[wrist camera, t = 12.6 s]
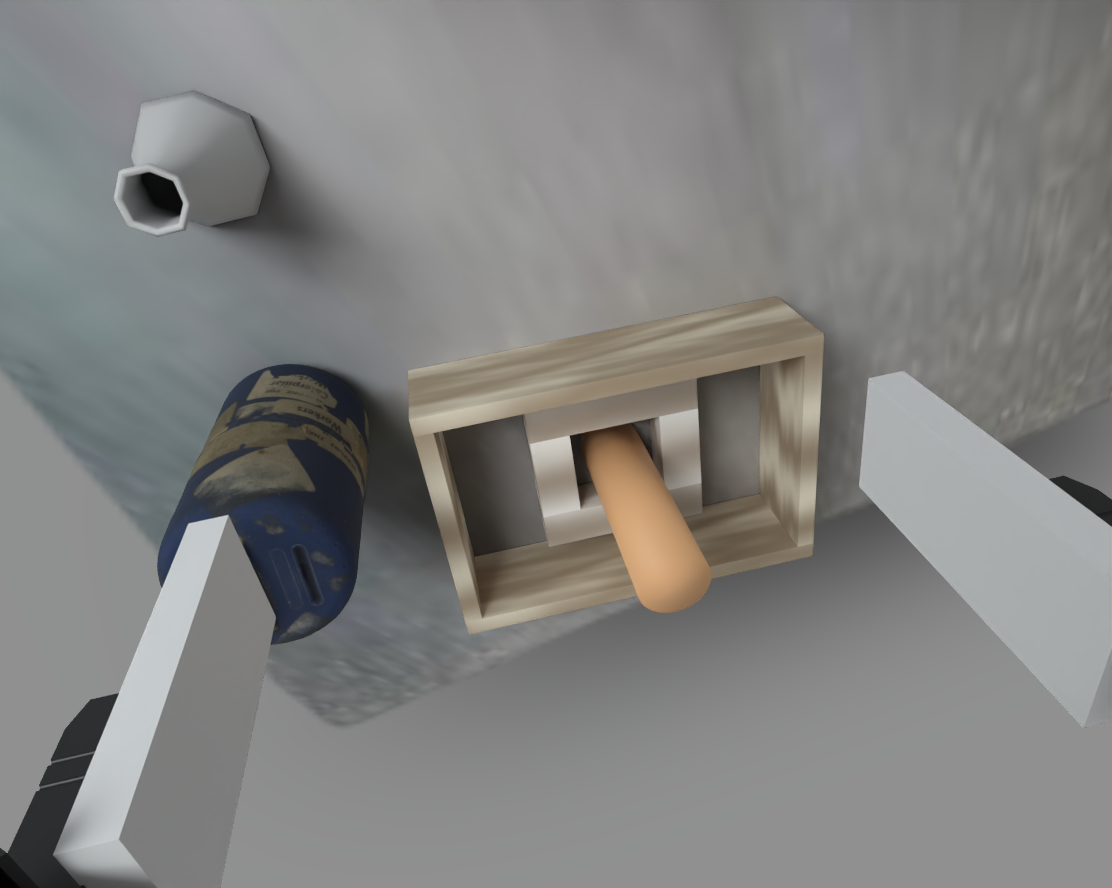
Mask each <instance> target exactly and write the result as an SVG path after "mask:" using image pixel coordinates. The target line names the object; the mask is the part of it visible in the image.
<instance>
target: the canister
mask: <svg viewBox="0 0 1112 888" xmlns="http://www.w3.org/2000/svg"><path fill="white" fill-rule="evenodd" d="M368 452H369V423H368V418H367V415H366V412H365V409H364V407H363V406H362V404H361V402H360V400H359V399H358V397H357V396H356V395H355V393H354V392H353V391H352V390H351V389H350V388H349V387H348V386H347V385H346V384H345V383H343V382H342V381H341V380H339V379H338V378H336V377H334V376H333V375H331V374H329V373H327V372H325V371H323V370H320V369H317V368H314V367H309V366H304V365H295V364H284V365H277V366H271V367H267V368H264V369H261V370H259V371H257V372H255V373H253V374H251V375H249V376H247V377H246V378H245V379H243V380H242V381H241V382H240V383H238V384H237V385H236V386H235V388H234V389H233V390H232V391H231V392H230V394H229V395H228V397H227V398H226V400H225V402H224V404H223V406H222V409H221V411H220V413H219V416H218V418H217V420H216V422H215V424H214V426H213V428H212V430H211V433H210V435H209V437H208V440H207V442H206V444H205V446H204V449H203V451H202V453H201V454H200V456H199V458H198V460H197V462H196V464H195V466H194V469H193V471H192V474H191V476H190V478H189V481H188V482H187V485H186V487H185V490H184V492H183V495H182V497H181V499H180V502H179V504H178V506H177V508H176V511H175V513H174V515H173V517H172V519H171V520H170V523H169V525H168V528H167V530H166V533H165V535H164V538H163V540H162V543H161V546H160V550H159V554H158V564H157V567H158V576H159V581H160V585H161V587H163V585H164V582H165V580H166V577H167V575H168V572H169V570H170V568H171V565H172V563H173V560H174V558H175V555H176V553H177V550H178V548H179V546H180V543H181V541H182V538H183V536H184V533H185V531H186V528H187V526H188V524H189V523H193V522H198V521H203V520H207V519H212V518H217V517H221V516H226V515H229V517H230V519H231V522H232V524H233V526H234V528H235V530H236V532H237V534H238V537H239V539H240V541H241V543H242V545H243V547H244V549H245V552H246V554H247V556H248V558H249V560H250V562H251V564H252V567H253V569H254V571H255V573H256V575H257V577H258V579H259V582H260V584H261V586H262V588H263V590H264V592H265V594H266V597H267V599H268V601H269V603H270V605H271V607H272V609H273V612H274V614H275V616H276V620H275V625H274V630H273V635H272V639H271V644H280V643H287V642H291V641H294V640H298V639H302V638H304V637H307V636H309V635H311V634H313V633H315V632H316V631H318V630H320V629H321V628H323V627H325V626H326V625H327V624H329V623H330V622H331V621H333V620H334V619H335V618H336V617H337V616H338V615H339V614H340V613H341V611H342V610H343V608H344V607H345V605H346V604H347V602H348V601H349V599H350V597H351V595H352V592H353V589H354V586H355V582H356V578H357V570H358V559H359V548H360V538H361V526H362V514H363V505H364V500H365V492H366V483H367V470H368ZM271 644H270V645H271Z"/></svg>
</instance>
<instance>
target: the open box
mask: <svg viewBox="0 0 1112 888" xmlns="http://www.w3.org/2000/svg"><path fill="white" fill-rule="evenodd" d="M823 348H824V334H823V333H822V332H821V331H819V330H818V329H817V328H816V327H814V326H813V325H812V324H811V323H809V322H808V321H807V320H806V319H804V318H803V317H802V316H801V315H799V314H798V313H797V312H796V311H794V310H793V309H792V308H791V307H789V306H788V305H787V304H786V303H784V302H783V301H782V300H781V299H779V298H778V297H772V298H767V299H762V300H757V301H752V302H747V303H742V304H737V305H732V306H727V307H722V308H717V309H712V310H707V311H702V312H697V313H692V314H687V315H682V316H677V317H672V318H667V319H662V320H657V321H652V322H648V323H643V324H638V325H633V326H628V327H623V328H618V329H613V330H608V331H603V332H598V333H593V334H588V335H583V336H578V337H573V338H568V339H563V340H558V341H553V342H548V343H543V344H538V345H533V346H528V347H523V348H518V349H513V350H508V351H504V352H499V353H494V354H489V355H484V356H479V357H474V358H469V359H464V360H459V361H454V362H449V363H444V364H439V365H434V366H429V367H424V368H419V369H414V370H409V371H408V386H409V422H410V426H411V429H412V433H413V436H414V440H415V444H416V447H417V451H418V454H419V458H420V461H421V465H422V469H423V472H424V476H425V479H426V483H427V486H428V490H429V494H430V497H431V501H432V504H433V508H434V511H435V515H436V518H437V522H438V526H439V529H440V533H441V536H442V540H443V543H444V547H445V551H446V554H447V558H448V561H449V565H450V568H451V572H452V576H453V579H454V583H455V586H456V590H457V593H458V597H459V601H460V604H461V608H462V611H463V615H464V618H465V622H466V626H467V629H468V633H469V634H473V633H478V632H482V631H486V630H491V629H495V628H499V627H504V626H508V625H513V624H517V623H521V622H526V621H530V620H534V619H539V618H543V617H548V616H552V615H556V614H561V613H565V612H569V611H574V610H578V609H582V608H587V607H591V606H596V605H600V604H604V603H609V602H613V601H617V600H622V599H626V598H630V597H635V596H637V593H636V590H635V588H634V585H633V583H632V580H631V578H630V575H629V573H628V570H627V567H626V565H625V562H624V560H623V557H622V555H621V552H620V549H619V547H618V544H617V542H616V539H615V537H614V534H613V532H612V529H611V526H610V524H609V521H608V519H607V516H606V514H605V511H604V508H603V506H602V503H601V501H600V498H599V496H598V493H597V491H596V488H595V485H594V483H589V484H584V485H580V486H577V481H576V474H575V468H574V461H573V455H572V448H571V441H570V435H575V434H579V433H584V432H589V431H594V430H598V429H603V428H608V427H612V426H617V425H622V424H627V423H631V422H636V421H641V420H646V419H649V421H650V433H651V445H652V456H653V463H654V464H655V466H656V468H657V470H658V472H659V474H660V476H661V478H662V479H663V481H664V483H665V485H666V487H667V489H668V491H669V492H670V494H671V496H672V498H673V500H674V502H675V504H676V505H677V507H678V509H679V511H680V513H681V515H682V517H683V519H684V520H685V522H686V524H687V526H688V528H689V530H690V532H691V533H692V535H693V537H694V539H695V541H696V543H697V545H698V546H699V548H700V550H701V552H702V554H703V556H704V558H705V560H706V561H707V563H708V565H709V567H710V570H711V579H713V578H717V577H722V576H727V575H731V574H735V573H739V572H744V571H748V570H753V569H757V568H761V567H766V566H770V565H774V564H779V563H783V562H787V561H792V560H796V559H801V558H805V557H809V556H812V555H813V538H814V519H815V500H816V481H817V462H818V443H819V424H820V405H821V386H822V367H823ZM758 365H760V494H757V495H752V496H748V497H743V498H739V499H734V500H730V501H725V502H721V503H716V504H712V505H707V506H703V507H702V486H701V464H700V442H699V420H698V398H697V378H700V377H705V376H709V375H714V374H719V373H724V372H729V371H733V370H738V369H743V368H748V367H753V366H758ZM517 415H523V421H524V426H525V431H526V437H527V442H528V447H529V453H530V458H531V463H532V469H533V474H534V479H535V485H536V490H537V495H538V501H539V506H540V511H541V517H542V522H543V526H544V530H545V534H546V538H547V541H544V542H540V543H535V544H531V545H526V546H522V547H517V548H513V549H508V550H504V551H499V552H495V553H490V554H486V555H481V556H477V557H474V553H473V549H472V545H471V541H470V538H469V534H468V530H467V526H466V522H465V518H464V514H463V510H462V506H461V502H460V498H459V494H458V491H457V487H456V483H455V479H454V475H453V471H452V467H451V463H450V459H449V455H448V451H447V448H446V444H445V440H444V436H443V432H442V431H445V430H450V429H455V428H460V427H464V426H469V425H474V424H479V423H484V422H488V421H493V420H498V419H503V418H508V417H512V416H517Z"/></svg>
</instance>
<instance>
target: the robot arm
mask: <svg viewBox="0 0 1112 888" xmlns="http://www.w3.org/2000/svg"><path fill="white" fill-rule="evenodd" d="M859 487H860V488H861V489H862V490H863V491H864V492H865V493H866V494H867V495H868V497H869V498H870V499H871V500H872V501H873V502H874V503H875V504H876V505H877V506H878V507H879V508H880V509H881V511H882V512H883V513H884V514H885V515H886V516H887V517H888V518H889V519H890V520H891V521H892V522H893V523H894V524H895V526H896V527H897V528H898V529H899V530H900V531H901V532H902V533H903V534H904V535H905V536H906V537H907V539H908V540H909V541H910V542H911V543H912V544H913V545H914V546H915V547H916V548H917V549H918V550H919V551H920V553H921V554H922V555H923V556H924V557H925V558H926V559H927V560H928V561H929V562H930V563H931V564H932V565H933V567H935V569H936V570H937V571H938V572H939V573H940V574H941V575H942V576H943V577H944V578H945V579H946V581H948V583H949V584H950V585H951V586H952V587H953V588H954V589H955V590H956V591H957V592H958V593H959V595H961V596H962V598H963V599H964V600H965V601H966V602H967V603H968V604H969V605H970V606H971V607H972V609H973V610H974V611H975V612H976V613H977V614H978V615H979V616H980V617H981V618H982V619H983V620H984V621H985V623H986V624H987V625H988V626H989V627H990V628H991V629H992V630H993V631H994V632H995V633H996V634H997V635H998V637H999V638H1000V639H1001V640H1003V642H1004V643H1005V644H1006V645H1007V646H1008V647H1009V648H1010V649H1011V650H1012V652H1013V653H1014V654H1015V655H1016V656H1017V657H1018V658H1019V659H1020V660H1021V661H1022V662H1023V663H1024V664H1025V665H1026V667H1027V668H1028V669H1029V670H1030V671H1031V672H1032V673H1033V674H1034V675H1035V676H1036V677H1037V678H1038V680H1039V681H1040V682H1041V683H1042V684H1043V685H1044V686H1045V687H1046V688H1047V689H1048V690H1049V691H1050V692H1051V694H1052V695H1054V697H1055V698H1056V699H1057V700H1058V701H1059V702H1060V703H1061V704H1062V705H1063V706H1064V707H1065V708H1066V710H1068V712H1069V713H1070V714H1071V715H1072V716H1073V717H1074V718H1075V719H1076V720H1077V722H1078V723H1079V724H1080V725H1081V726H1082V727H1083V728H1086V727H1089V726H1094V725H1097V724H1101V723H1105V722H1109V721H1112V499H1110V498H1109V497H1107V496H1106V495H1104V494H1103V493H1102V492H1100V491H1099V490H1097V489H1095V488H1093V487H1090V486H1088V485H1085V484H1083V483H1080V482H1078V481H1075V480H1073V479H1070V478H1068V477H1066V476H1061V477H1056V478H1052V479H1047V478H1046V477H1045V476H1043V475H1042V474H1040V473H1039V472H1038V471H1036V470H1035V469H1034V468H1032V467H1031V466H1030V465H1028V464H1027V463H1026V462H1025V461H1023V460H1022V459H1020V458H1019V457H1018V456H1016V455H1015V454H1014V453H1012V452H1011V451H1010V450H1008V449H1007V448H1006V447H1004V446H1003V445H1002V444H1000V443H999V442H998V441H996V440H995V439H994V438H992V437H991V436H990V435H988V434H987V433H986V432H984V431H983V430H982V429H980V428H979V427H978V426H976V425H975V424H974V423H972V422H971V421H970V420H968V419H967V418H966V417H964V416H963V415H962V414H960V413H959V412H958V411H956V410H955V409H954V408H952V407H951V406H950V405H948V404H947V403H946V402H944V401H943V400H942V399H940V398H939V397H938V396H936V395H935V394H934V393H932V392H931V391H930V390H928V389H927V388H926V387H924V386H923V385H922V384H920V383H919V382H918V381H916V380H915V379H914V378H912V377H911V376H910V375H908V374H907V373H906V372H904V371H900V372H896V373H891V374H886V375H882V376H877V377H872V378H869V380H868V391H867V402H866V413H865V425H864V436H863V447H862V459H861V470H860V481H859ZM275 620H276V616H275V614H274V612H273V609H272V607H271V605H270V603H269V601H268V599H267V597H266V594H265V592H264V590H263V588H262V586H261V584H260V582H259V579H258V577H257V575H256V573H255V571H254V569H253V567H252V564H251V562H250V560H249V558H248V556H247V554H246V552H245V549H244V547H243V545H242V543H241V541H240V539H239V537H238V534H237V532H236V530H235V528H234V526H233V524H232V522H231V519H230V517H229V515H226V516H221V517H217V518H212V519H207V520H203V521H198V522H193V523H189V524H188V526H187V528H186V531H185V533H184V536H183V538H182V541H181V543H180V546H179V548H178V550H177V553H176V555H175V558H174V560H173V563H172V565H171V568H170V570H169V572H168V575H167V577H166V580H165V582H164V585H163V587H162V590H161V592H160V594H159V597H158V599H157V602H156V604H155V607H154V609H153V612H152V614H151V617H150V619H149V621H148V624H147V626H146V629H145V631H144V634H143V636H142V639H141V641H140V644H139V646H138V648H137V651H136V653H135V656H134V658H133V660H132V663H131V665H130V668H129V670H128V673H127V675H126V678H125V680H124V682H123V685H122V687H121V690H120V692H119V693H118V694H113V695H109V696H105V697H100V698H96V699H91V700H90V701H89V702H88V703H87V704H86V705H85V707H84V708H83V709H82V710H81V711H80V712H79V714H78V715H77V716H76V717H75V718H74V719H73V721H72V722H71V723H70V724H69V725H68V726H67V727H66V729H65V730H64V732H63V735H62V737H61V739H60V741H59V743H58V745H57V748H56V750H55V752H54V754H53V756H52V758H51V762H52V764H51V765H50V766H48V767H47V769H46V771H45V773H44V776H43V778H42V780H41V782H40V784H39V786H40V790H39V791H37V792H36V793H35V795H34V797H33V799H32V802H31V804H30V806H29V808H28V810H27V812H26V815H25V817H24V819H23V821H22V823H21V825H20V828H19V830H18V832H17V834H16V836H15V838H14V841H13V843H12V845H11V847H10V849H9V851H8V853H6V852H5V851H4V850H2V849H1V848H0V888H220V887H221V882H222V877H223V872H224V868H225V863H226V858H227V853H228V848H229V843H230V838H231V834H232V828H233V824H234V819H235V814H236V809H237V804H238V799H239V795H240V790H241V785H242V779H243V775H244V770H245V765H246V761H247V756H248V751H249V746H250V741H251V737H252V731H253V726H254V722H255V717H256V712H257V707H258V702H259V698H260V693H261V688H262V683H263V678H264V673H265V669H266V664H267V659H268V654H269V649H270V644H271V639H272V635H273V630H274V625H275Z"/></svg>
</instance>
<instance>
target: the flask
mask: <svg viewBox="0 0 1112 888" xmlns="http://www.w3.org/2000/svg"><path fill="white" fill-rule="evenodd" d="M131 157H132V161H133V163H134V165H135V167H131V168H126V169H122V170H120V171H119V174H118V179H117V184H116V189H115V194H114V200H115V202H116V204H117V206H118V208H119V210H120V212H121V214H122V216H123V218H124V220H125V222H126V224H127V226H129V227H132V228H134V229H137V230H140V231H143V232H146V233H148V234H151V235H154V236H157V237H159V236H163V235H167V234H171V233H175V232H179V231H183V230H185V229H186V227H187V223H188V219H189V220H192V221H194V222H197V223H200V224H202V225H205V226H213V225H217V224H221V223H225V222H229V221H233V220H237V219H241V218H245V217H249V216H253V215H257V213H258V210H259V206H260V202H261V199H262V195H263V192H264V188H265V185H266V181H267V177H268V174H269V170H270V165H269V163H268V160H267V158H266V155H265V152H264V150H263V147H262V145H261V142H260V140H259V137H258V135H257V132H256V129H255V127H254V124H253V122H252V119H251V117H250V114H248V113H246V112H243V111H241V110H239V109H236V108H234V107H232V106H229V105H227V104H225V103H222V102H220V101H218V100H215V99H213V98H211V97H208V96H206V95H204V94H201V93H199V92H197V91H190V92H186V93H182V94H178V95H174V96H170V97H166V98H161V99H157V100H153V101H149V102H145V103H141V108H140V113H139V118H138V123H137V128H136V133H135V138H134V143H133V148H132V153H131Z"/></svg>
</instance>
